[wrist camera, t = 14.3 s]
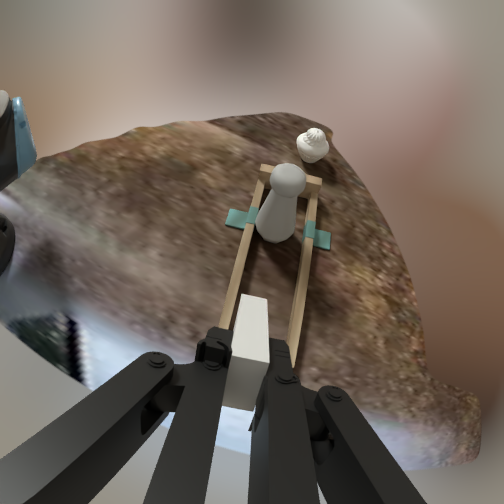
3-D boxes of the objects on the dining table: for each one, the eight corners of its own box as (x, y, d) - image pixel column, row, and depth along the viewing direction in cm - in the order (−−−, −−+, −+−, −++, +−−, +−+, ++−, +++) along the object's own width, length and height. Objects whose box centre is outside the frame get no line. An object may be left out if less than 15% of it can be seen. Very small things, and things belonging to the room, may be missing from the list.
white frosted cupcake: (326, 154, 53) (336, 128, 46) (320, 173, 50) (331, 145, 44) (297, 143, 53) (305, 116, 47) (289, 161, 50) (296, 133, 44)
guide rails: (189, 345, 34) (185, 340, 30) (241, 176, 47) (242, 159, 44) (313, 372, 33) (323, 370, 30) (332, 198, 47) (339, 183, 44)
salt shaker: (299, 237, 43) (324, 180, 31) (269, 255, 41) (288, 199, 29) (275, 210, 45) (292, 150, 33) (246, 226, 43) (255, 165, 31)
